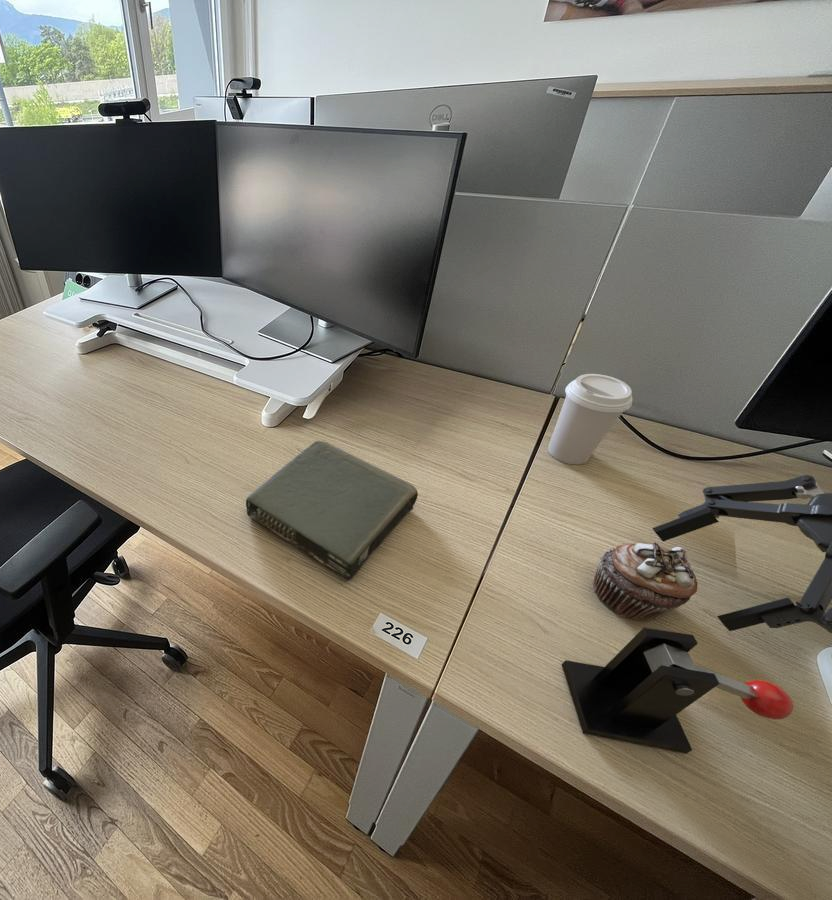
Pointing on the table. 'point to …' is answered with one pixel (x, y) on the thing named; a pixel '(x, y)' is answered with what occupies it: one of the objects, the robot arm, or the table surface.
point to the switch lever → (729, 683)
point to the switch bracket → (638, 693)
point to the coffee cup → (588, 416)
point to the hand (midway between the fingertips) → (687, 575)
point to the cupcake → (644, 580)
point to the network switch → (332, 506)
